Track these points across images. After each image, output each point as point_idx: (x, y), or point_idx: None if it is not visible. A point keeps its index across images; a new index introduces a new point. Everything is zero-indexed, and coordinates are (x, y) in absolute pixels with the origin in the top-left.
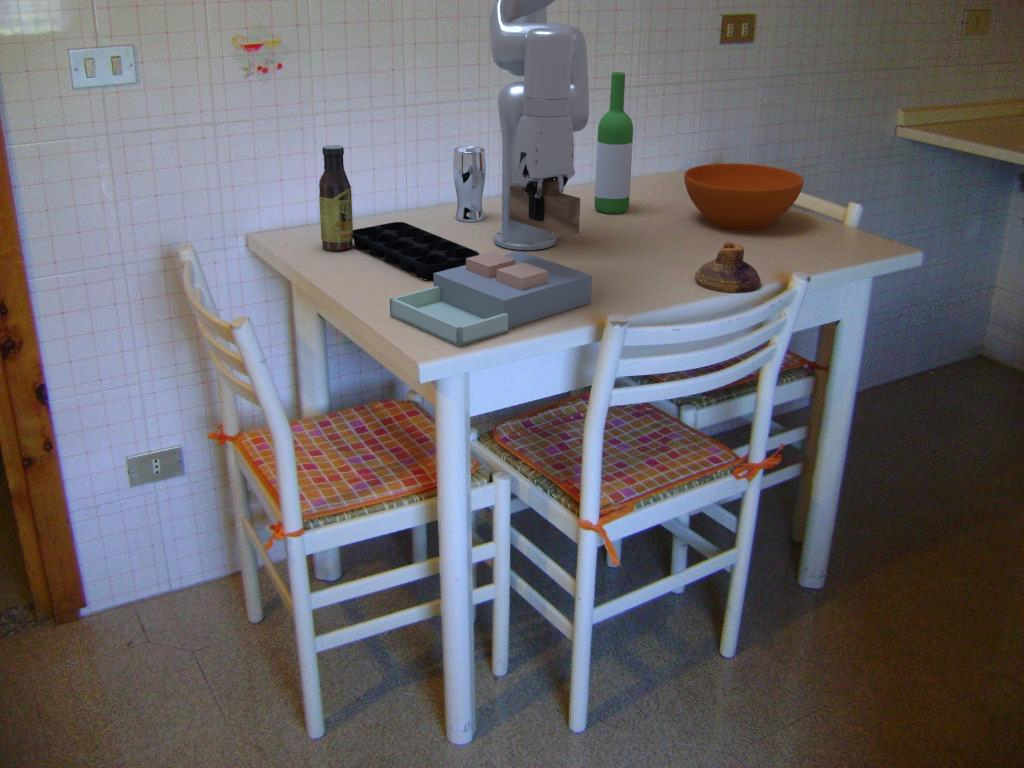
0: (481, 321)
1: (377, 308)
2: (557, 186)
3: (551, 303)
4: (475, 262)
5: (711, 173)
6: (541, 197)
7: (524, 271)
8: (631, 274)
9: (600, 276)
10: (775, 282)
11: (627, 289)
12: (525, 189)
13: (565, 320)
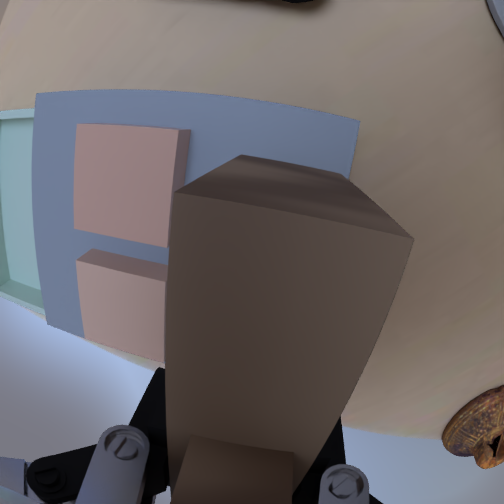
0: (20, 303)
1: (10, 67)
2: None
3: None
4: (74, 169)
5: None
6: (169, 478)
7: (117, 322)
8: (484, 314)
9: (454, 276)
10: None
11: (402, 355)
12: (64, 465)
13: None
